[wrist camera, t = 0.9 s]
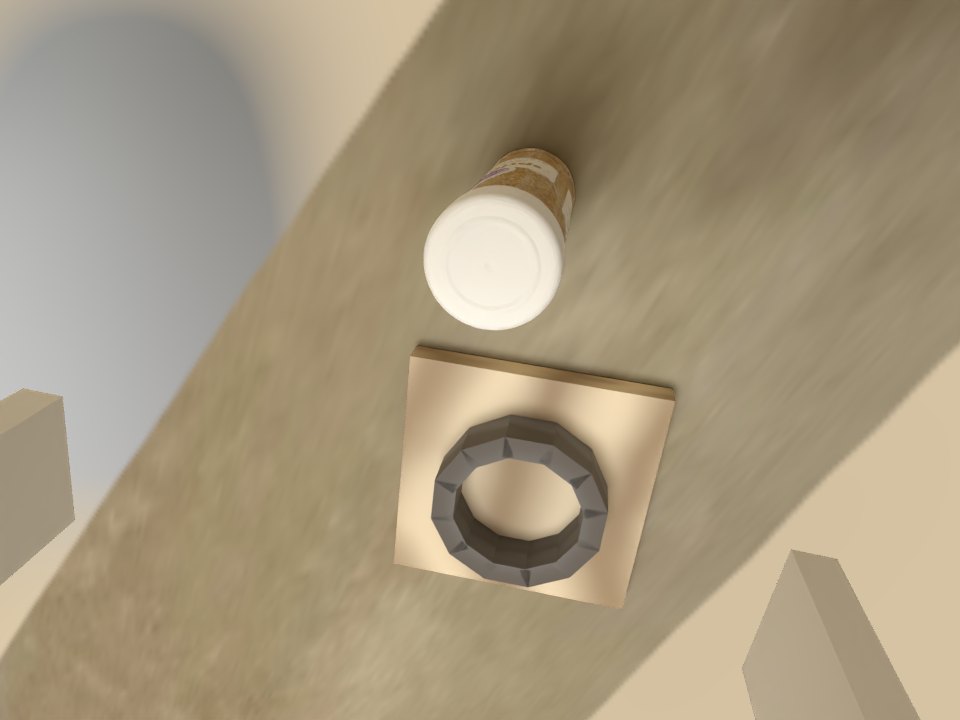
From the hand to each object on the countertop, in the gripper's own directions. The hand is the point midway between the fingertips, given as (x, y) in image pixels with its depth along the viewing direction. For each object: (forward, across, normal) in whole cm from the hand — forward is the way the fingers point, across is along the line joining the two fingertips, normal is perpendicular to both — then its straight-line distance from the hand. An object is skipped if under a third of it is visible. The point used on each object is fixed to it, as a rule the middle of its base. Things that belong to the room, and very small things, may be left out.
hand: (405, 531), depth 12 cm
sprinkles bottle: (+25, 0, +2) cm, 25 cm away
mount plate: (+25, +3, -14) cm, 28 cm away
